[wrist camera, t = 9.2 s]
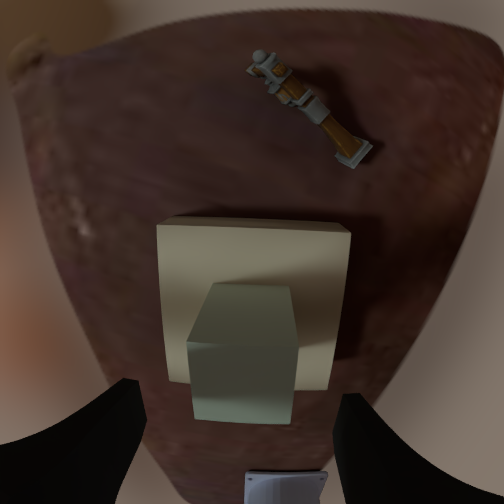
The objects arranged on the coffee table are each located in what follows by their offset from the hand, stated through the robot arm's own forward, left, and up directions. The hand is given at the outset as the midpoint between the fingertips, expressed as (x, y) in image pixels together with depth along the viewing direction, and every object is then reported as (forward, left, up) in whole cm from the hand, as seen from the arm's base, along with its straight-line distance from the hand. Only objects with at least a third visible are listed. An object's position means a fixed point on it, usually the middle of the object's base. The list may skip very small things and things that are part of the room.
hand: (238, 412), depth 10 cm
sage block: (0, 0, -7) cm, 7 cm away
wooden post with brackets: (+11, -3, -11) cm, 16 cm away
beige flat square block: (0, 0, -10) cm, 10 cm away
